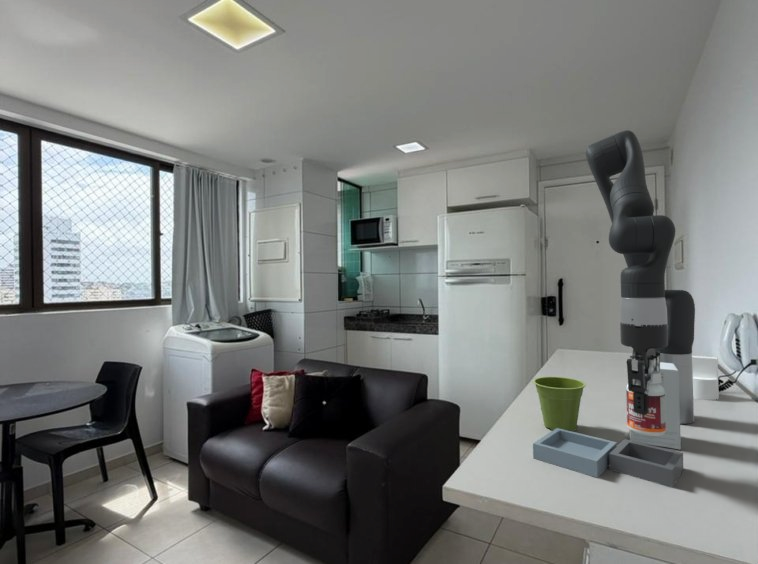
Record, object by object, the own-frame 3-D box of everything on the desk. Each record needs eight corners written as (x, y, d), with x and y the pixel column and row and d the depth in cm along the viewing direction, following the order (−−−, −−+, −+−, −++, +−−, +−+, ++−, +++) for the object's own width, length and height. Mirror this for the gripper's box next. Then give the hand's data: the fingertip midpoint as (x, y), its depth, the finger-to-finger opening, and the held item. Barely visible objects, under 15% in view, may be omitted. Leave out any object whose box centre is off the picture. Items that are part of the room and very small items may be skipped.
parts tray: (557, 441, 90) (556, 427, 90) (617, 457, 81) (616, 442, 81) (533, 458, 81) (532, 443, 81) (597, 477, 73) (596, 461, 73)
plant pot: (527, 419, 104) (526, 376, 104) (573, 419, 104) (572, 376, 104) (544, 437, 92) (543, 388, 92) (596, 436, 92) (595, 387, 92)
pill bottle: (624, 432, 75) (622, 372, 75) (629, 422, 80) (628, 366, 80) (664, 439, 71) (662, 376, 71) (667, 429, 76) (665, 370, 76)
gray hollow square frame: (624, 453, 83) (624, 439, 83) (683, 468, 76) (683, 452, 76) (609, 469, 76) (609, 453, 76) (672, 487, 69) (672, 470, 69)
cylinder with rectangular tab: (716, 394, 124) (714, 355, 124) (721, 401, 116) (720, 360, 116) (679, 390, 129) (678, 353, 129) (682, 397, 121) (681, 358, 121)
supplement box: (681, 450, 83) (679, 370, 84) (629, 442, 88) (628, 366, 88) (676, 435, 92) (674, 362, 92) (629, 428, 96) (627, 359, 97)
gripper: (631, 317, 84) (633, 397, 83) (609, 323, 74) (611, 414, 73) (674, 319, 78) (677, 404, 78) (658, 325, 68) (660, 423, 68)
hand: (645, 408), depth 76 cm, fingers closed on pill bottle, 6 cm apart
